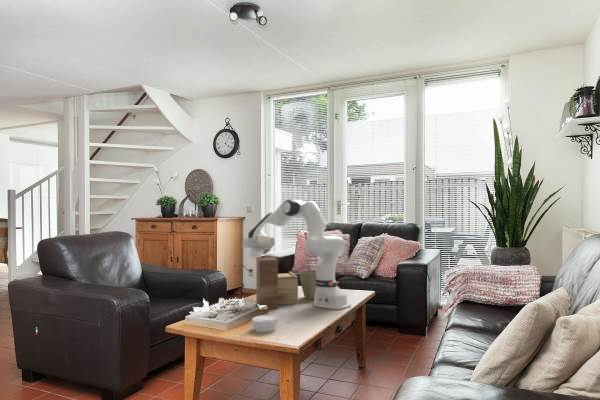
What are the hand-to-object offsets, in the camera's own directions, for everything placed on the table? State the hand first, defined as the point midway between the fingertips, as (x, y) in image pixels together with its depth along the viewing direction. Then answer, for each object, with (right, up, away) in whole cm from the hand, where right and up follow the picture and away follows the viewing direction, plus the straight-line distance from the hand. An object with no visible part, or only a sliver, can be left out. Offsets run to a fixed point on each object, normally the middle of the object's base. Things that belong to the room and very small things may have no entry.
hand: (260, 237), depth 263 cm
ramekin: (+9, -36, -70) cm, 80 cm away
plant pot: (+32, -37, -3) cm, 49 cm away
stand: (+11, -37, -16) cm, 42 cm away
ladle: (+2, -2, -9) cm, 9 cm away
